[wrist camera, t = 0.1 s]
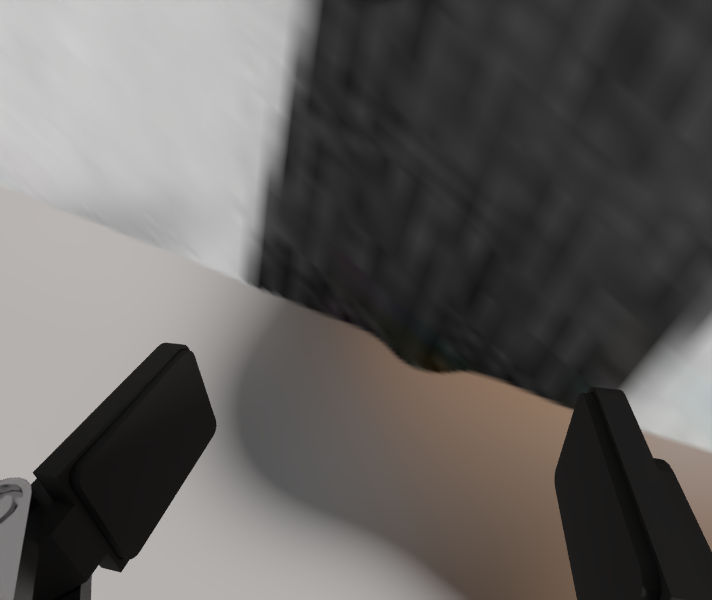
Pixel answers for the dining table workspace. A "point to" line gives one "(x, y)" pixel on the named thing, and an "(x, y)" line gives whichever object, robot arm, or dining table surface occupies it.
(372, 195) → the dining table surface
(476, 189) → the dining table surface
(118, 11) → the dining table surface
